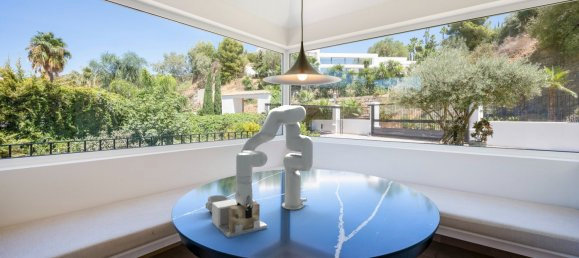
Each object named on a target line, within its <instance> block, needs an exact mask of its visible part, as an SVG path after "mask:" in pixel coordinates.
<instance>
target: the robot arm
mask: <svg viewBox="0 0 579 258" xmlns="http://www.w3.org/2000/svg"><path fill="white" fill-rule="evenodd" d="M306 116H307V110H306V109H305V107H304V106H303V105H302V106H301V105H281V106H278V107H277V108H272V109H271V110H269V112H268V114H267V115H266V117H265V119H264V121H263V123H262V125H261V127H260V129H259V131H257V132H256V133H254V134H253V135H252V136H251V137H249V138H248V139H247V141H246V142H245V143H244V145H243V147H242V149H241V151H240V152H238V153H237V154H236V156H235V157H236V158H235V159H236V161H235V163H236V165H235V166H236V167H235V169H236V170H235V173H236V174H235V179H236V180H235V181H236V182H235V192H234V193H235V194H234V195H235V197H234V199H235V200H236V201H237V202H236V203H237V205H245V207H246V210H245V218H246V219H248V218H252V209H253V204H254V202H253V200H254V198H253V168H261V167H263V166H265V165H266V164H267V163H268V155H267V154H266V153H265V152H263V151H260V150H256V149H257V148H258V147H259V146H261V145H263V144H264V143H268V142H270V141H273V140H274V139H275V138H276V136H277V133H278V131H279V129H280V127H281V126H282V125H283V126H285V147H286V150H288V151H290V152H291V153H287V154H285V156H284V157H283V161H282V163H283V169H284V202H282V203H281V207H282V208H283V209H284V210H285V209H286V210H291V211H293V210H295V211H296V210H300V209H303V208H304V204H303V203H305V202H308V199H307V198H306V197H304V198H303V197H301V195H302V194H301V193H302V175H301V173H300V172H304V173H305V172H306V173H307V172H310V171H311V169H312V168H313V163H314V161H313V159H314V155H313V154H314V146H313V145H314V143H313V140H312V138H311V137H309V136H307V135H302V134H301V133H302V132H301V125H300V122H302V121H304V120H305V118H306ZM293 152H296V153H293ZM252 199H253V200H252ZM247 205H249V206H247Z"/></svg>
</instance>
